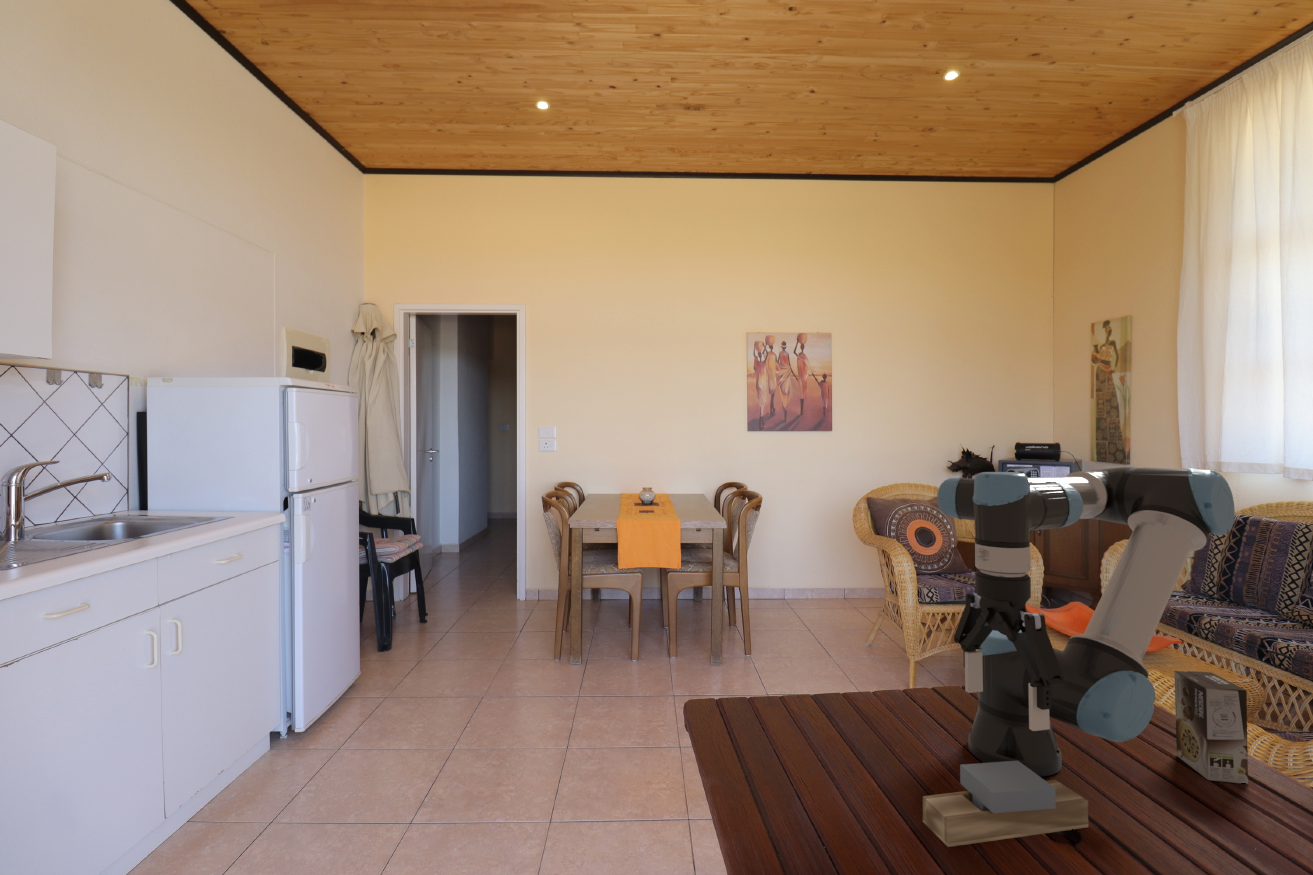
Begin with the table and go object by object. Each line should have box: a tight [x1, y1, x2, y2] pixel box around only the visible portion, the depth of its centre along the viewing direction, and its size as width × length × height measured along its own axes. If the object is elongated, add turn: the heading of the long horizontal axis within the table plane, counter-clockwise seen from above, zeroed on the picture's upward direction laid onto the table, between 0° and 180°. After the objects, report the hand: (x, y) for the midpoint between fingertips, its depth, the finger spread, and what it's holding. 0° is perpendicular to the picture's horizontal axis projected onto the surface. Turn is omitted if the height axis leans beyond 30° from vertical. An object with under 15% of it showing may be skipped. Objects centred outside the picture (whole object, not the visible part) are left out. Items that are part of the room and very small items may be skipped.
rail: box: [922, 779, 1089, 848], centre depth 95 cm, size 6×24×4 cm, turn 100°
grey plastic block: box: [959, 761, 1056, 813], centre depth 95 cm, size 8×10×7 cm
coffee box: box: [1174, 670, 1249, 785], centre depth 110 cm, size 9×6×16 cm
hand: (1004, 709), depth 95 cm, fingers open, 13 cm apart
